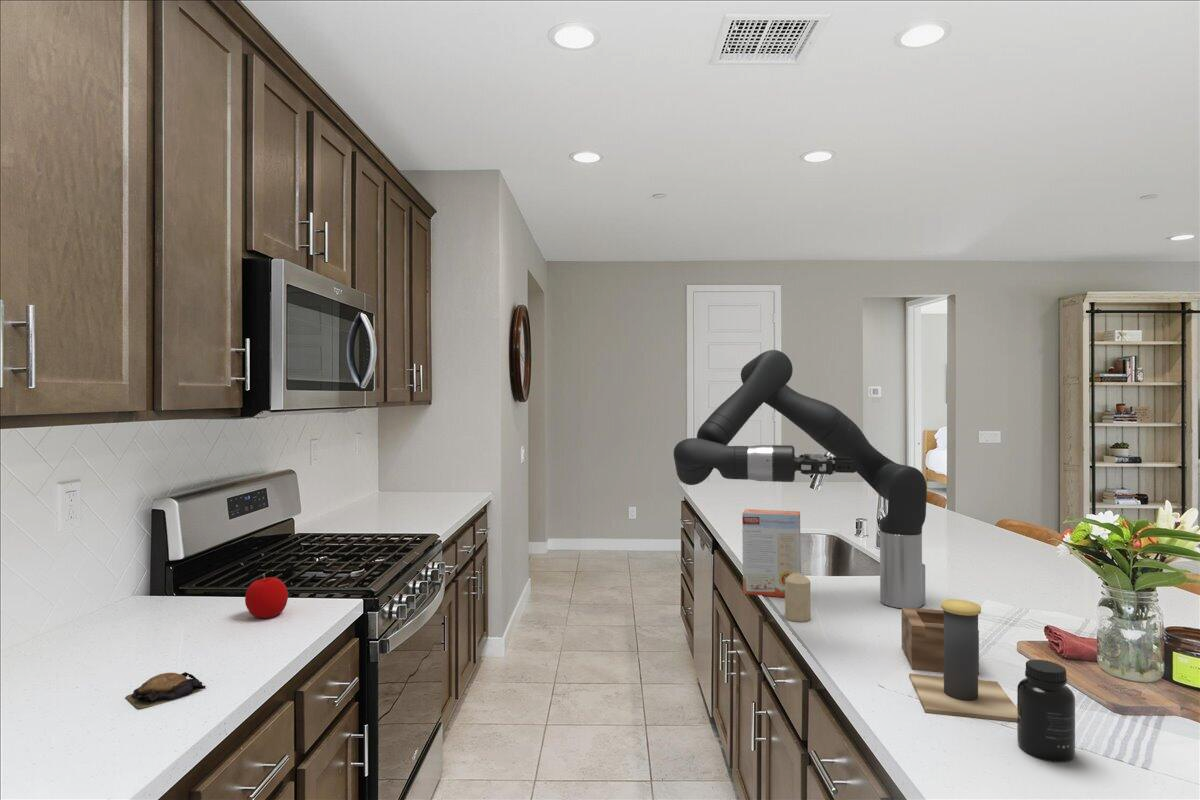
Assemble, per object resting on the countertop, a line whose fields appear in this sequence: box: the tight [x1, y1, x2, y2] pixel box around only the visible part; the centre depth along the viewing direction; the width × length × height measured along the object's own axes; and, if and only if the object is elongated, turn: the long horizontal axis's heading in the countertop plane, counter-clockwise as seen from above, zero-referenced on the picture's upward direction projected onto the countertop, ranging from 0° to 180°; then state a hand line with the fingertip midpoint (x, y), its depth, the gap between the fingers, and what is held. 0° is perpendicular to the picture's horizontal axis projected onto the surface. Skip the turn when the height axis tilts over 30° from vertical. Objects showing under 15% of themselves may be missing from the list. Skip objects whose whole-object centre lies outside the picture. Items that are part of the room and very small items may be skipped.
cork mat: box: [908, 673, 1017, 723], centre depth 112 cm, size 14×14×1 cm
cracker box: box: [741, 508, 802, 598], centre depth 171 cm, size 14×6×21 cm, turn 71°
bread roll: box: [125, 671, 207, 711], centre depth 116 cm, size 11×8×4 cm
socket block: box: [901, 607, 980, 676], centre depth 128 cm, size 11×11×8 cm
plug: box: [940, 598, 982, 701], centre depth 112 cm, size 6×6×15 cm
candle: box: [784, 572, 812, 623], centre depth 152 cm, size 6×6×10 cm
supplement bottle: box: [1016, 659, 1076, 763], centre depth 95 cm, size 7×7×12 cm
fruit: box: [244, 573, 289, 619], centre depth 156 cm, size 9×9×10 cm
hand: (853, 464), depth 137 cm, fingers open, 8 cm apart
